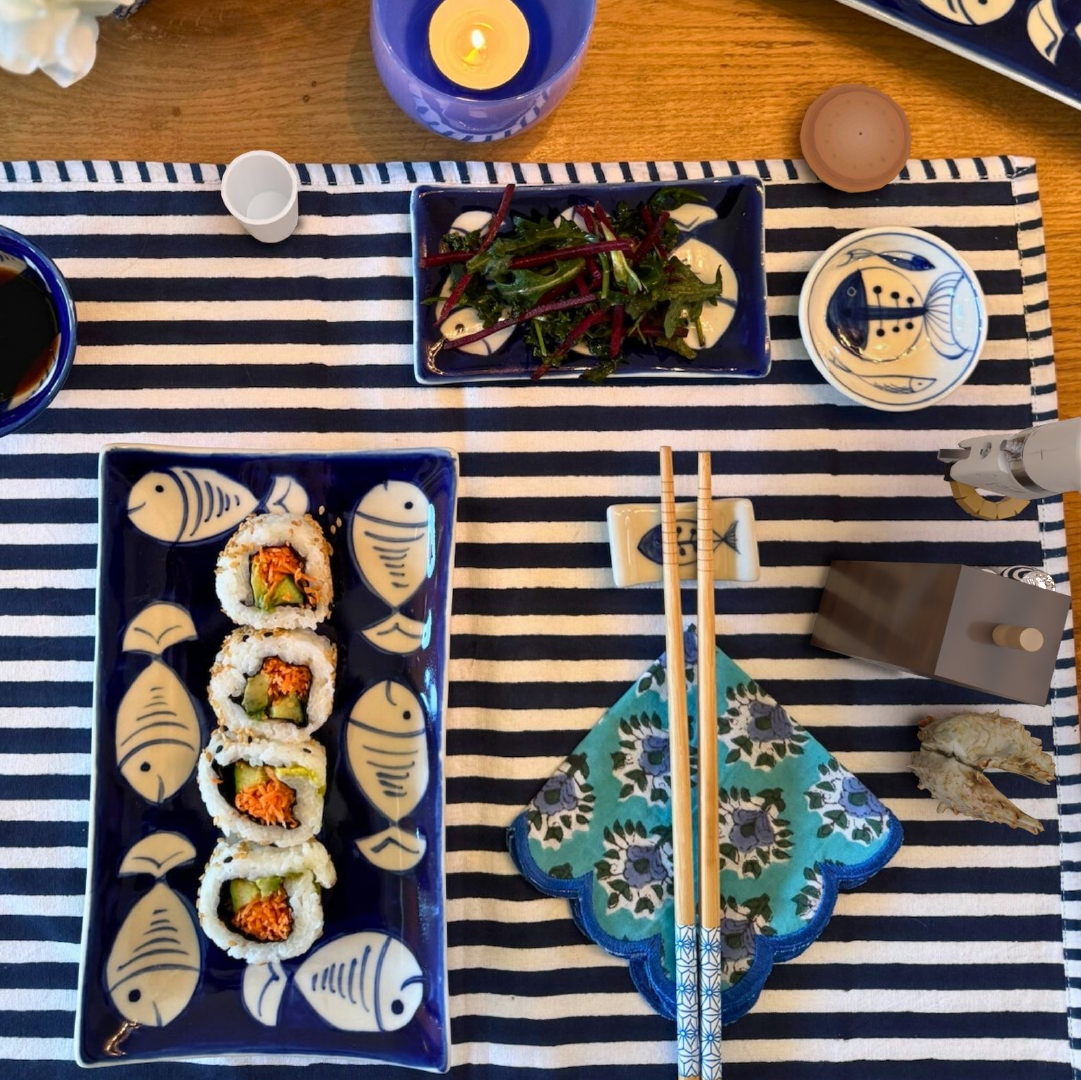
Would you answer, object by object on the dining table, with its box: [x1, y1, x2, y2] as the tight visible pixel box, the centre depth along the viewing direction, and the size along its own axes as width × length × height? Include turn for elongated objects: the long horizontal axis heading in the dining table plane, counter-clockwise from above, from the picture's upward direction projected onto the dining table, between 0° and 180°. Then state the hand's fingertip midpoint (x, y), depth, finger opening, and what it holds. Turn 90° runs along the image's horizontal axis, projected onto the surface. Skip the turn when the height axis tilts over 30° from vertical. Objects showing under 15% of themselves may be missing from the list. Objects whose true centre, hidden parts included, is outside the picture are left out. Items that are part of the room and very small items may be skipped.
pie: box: [798, 83, 913, 194], centre depth 146 cm, size 15×16×5 cm
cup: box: [220, 149, 299, 244], centre depth 141 cm, size 10×10×13 cm
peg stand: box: [809, 559, 1073, 708], centre depth 124 cm, size 12×12×39 cm
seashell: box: [906, 708, 1057, 836], centre depth 134 cm, size 18×18×15 cm
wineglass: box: [980, 564, 1057, 592], centre depth 138 cm, size 6×6×12 cm
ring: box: [948, 481, 1031, 521], centre depth 131 cm, size 10×10×2 cm
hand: (960, 472), depth 132 cm, fingers closed on ring, 2 cm apart
